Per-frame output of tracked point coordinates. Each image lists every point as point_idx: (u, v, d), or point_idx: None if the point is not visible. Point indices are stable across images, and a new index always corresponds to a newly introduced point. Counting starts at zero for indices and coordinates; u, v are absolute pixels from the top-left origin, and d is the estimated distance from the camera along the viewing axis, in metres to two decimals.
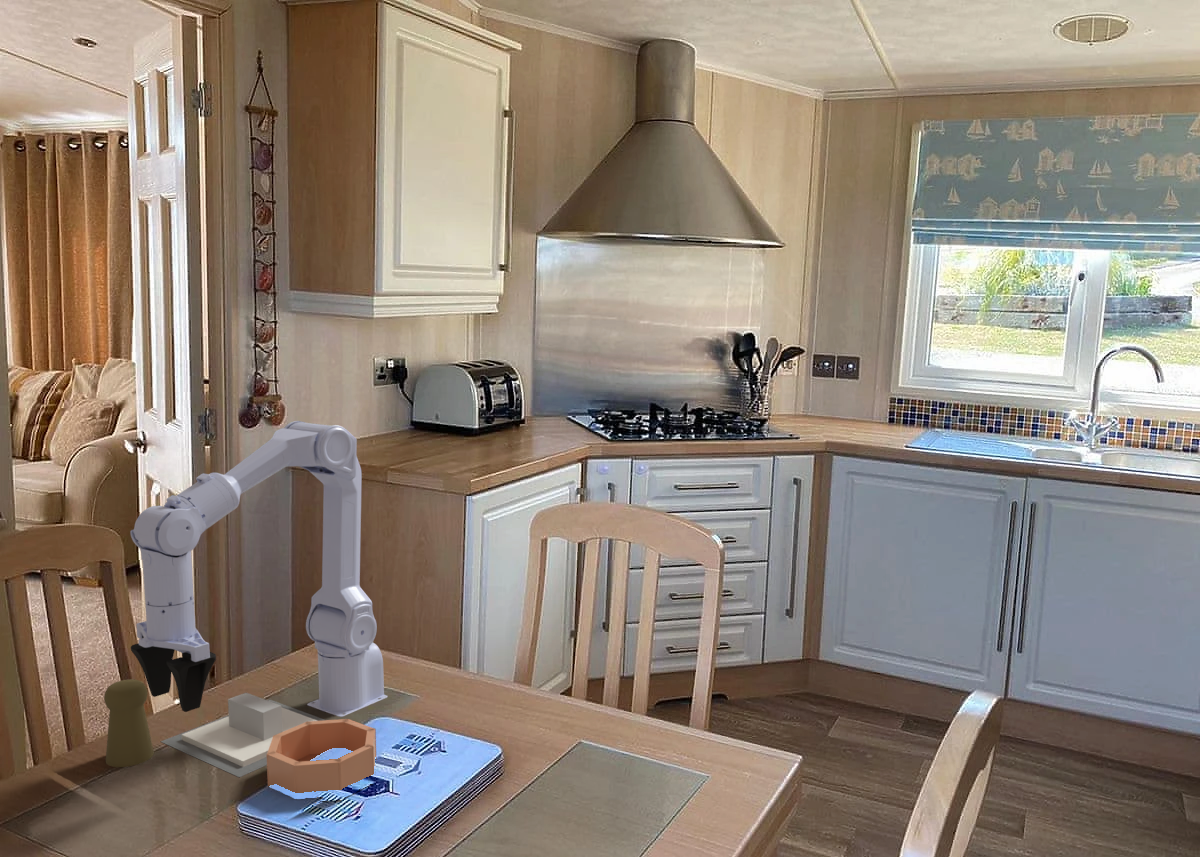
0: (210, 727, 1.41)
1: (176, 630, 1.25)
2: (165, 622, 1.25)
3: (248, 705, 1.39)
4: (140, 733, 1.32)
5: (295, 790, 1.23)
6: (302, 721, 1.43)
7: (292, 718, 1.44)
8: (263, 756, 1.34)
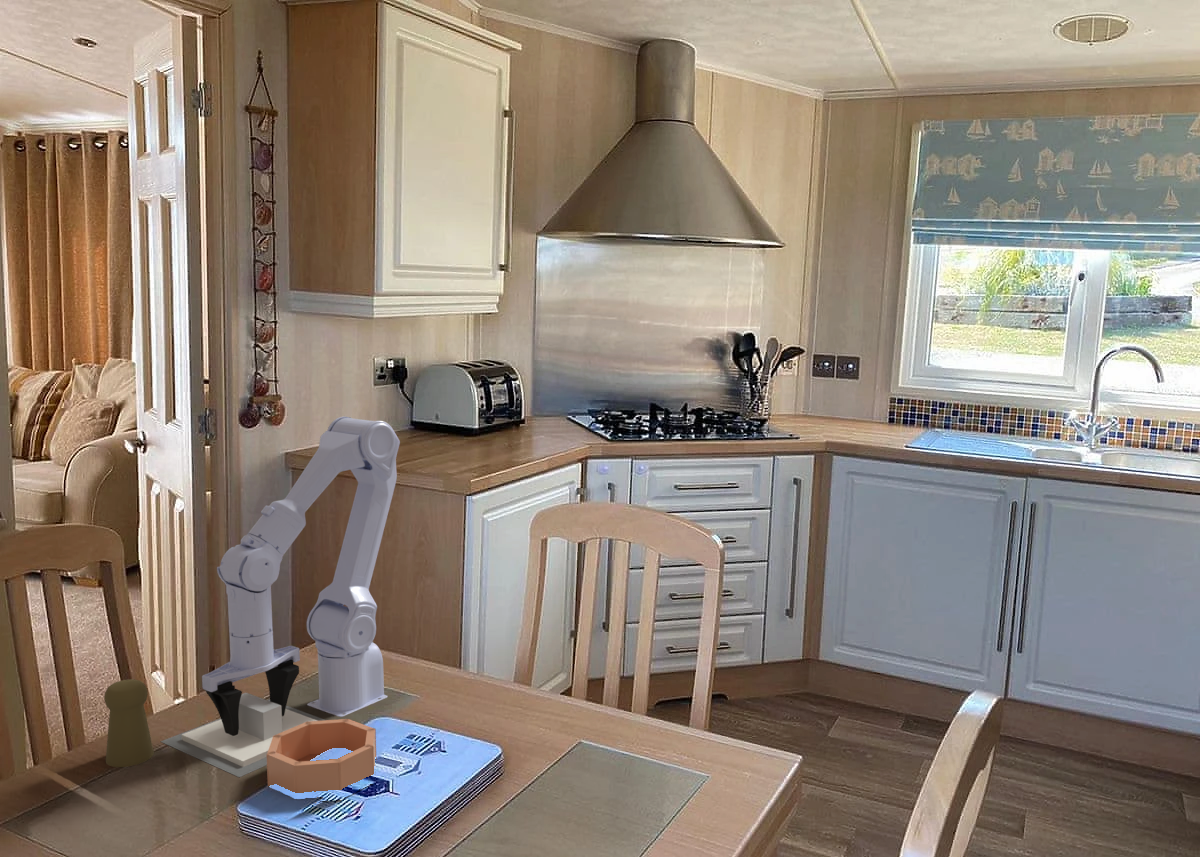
0: (210, 727, 1.41)
1: (231, 658, 1.37)
2: None
3: (248, 705, 1.39)
4: (140, 733, 1.32)
5: (295, 790, 1.23)
6: (302, 721, 1.43)
7: (292, 718, 1.44)
8: (263, 756, 1.34)
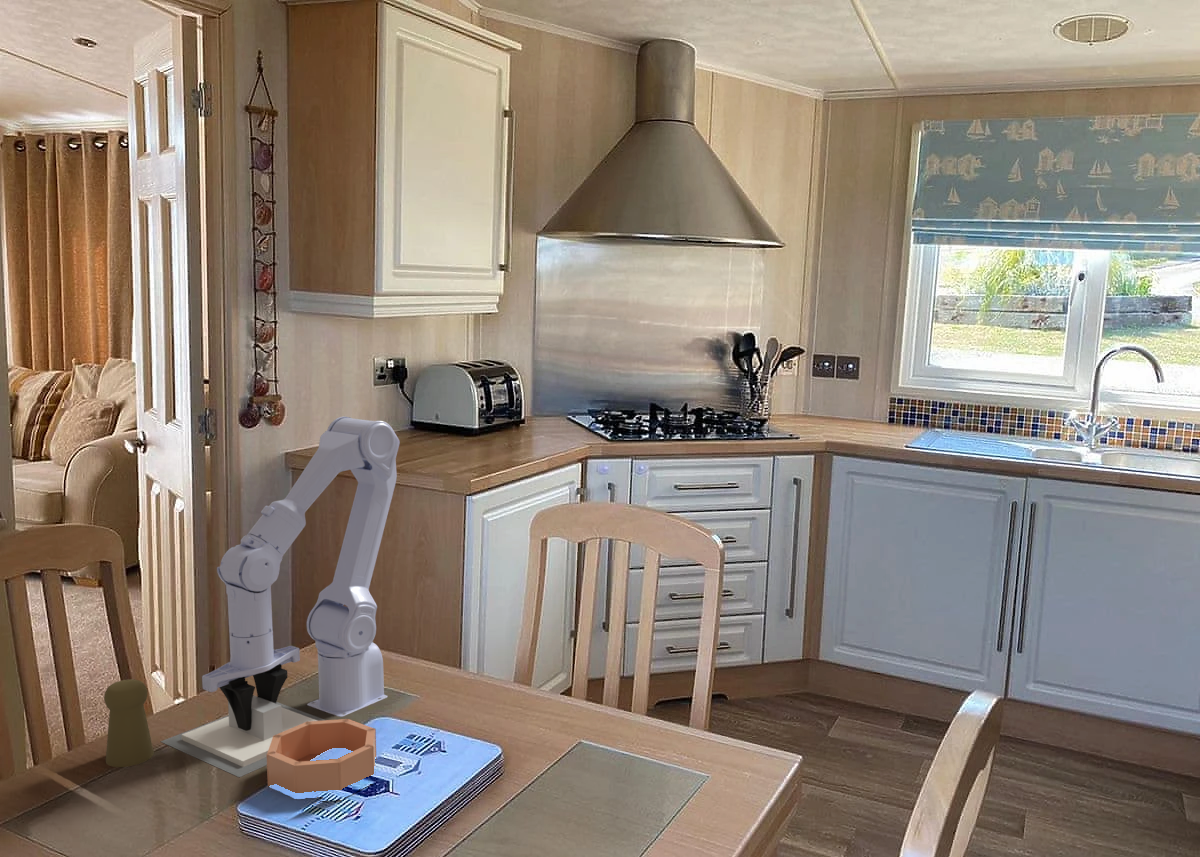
0: (210, 727, 1.41)
1: (231, 658, 1.37)
2: None
3: None
4: (140, 733, 1.32)
5: (295, 790, 1.23)
6: (302, 721, 1.43)
7: (292, 718, 1.44)
8: (263, 756, 1.34)
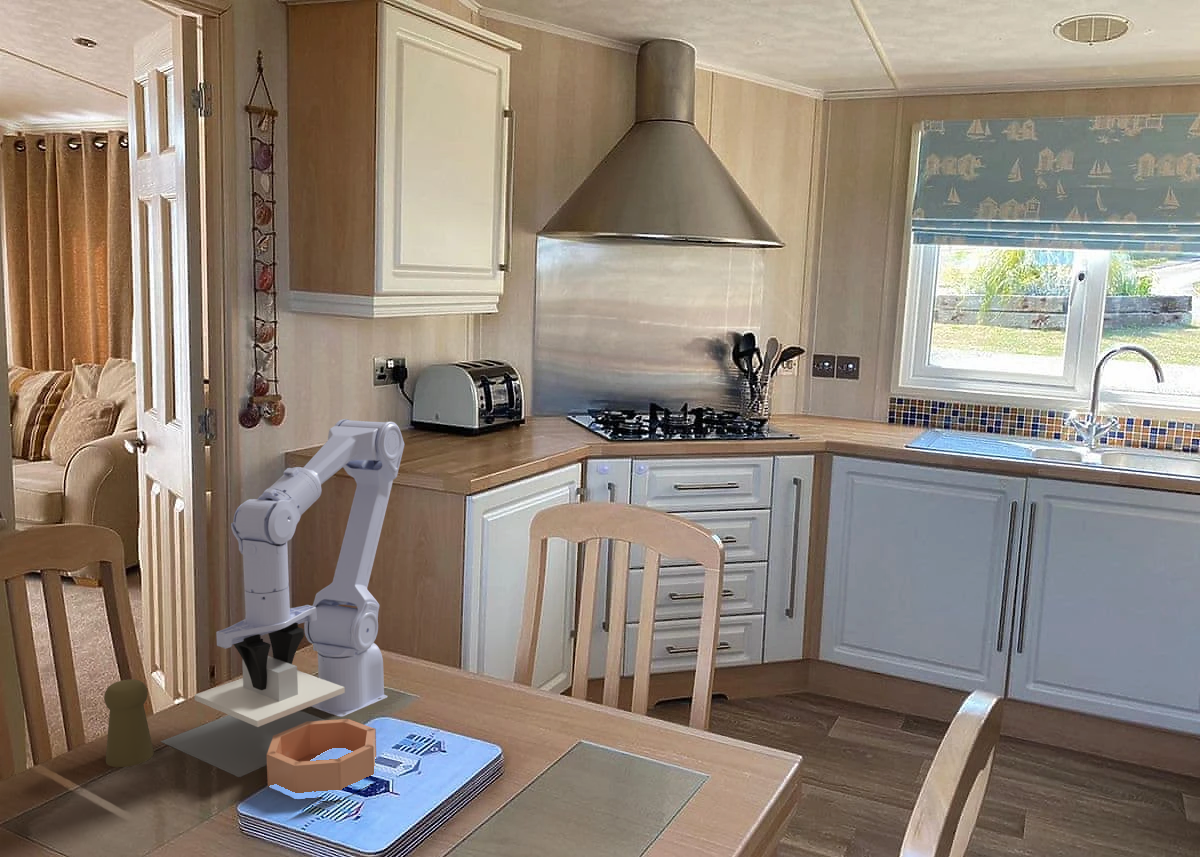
0: (224, 688, 1.37)
1: (246, 615, 1.33)
2: None
3: None
4: (140, 733, 1.32)
5: (295, 790, 1.23)
6: (318, 684, 1.39)
7: (308, 680, 1.40)
8: (278, 717, 1.29)
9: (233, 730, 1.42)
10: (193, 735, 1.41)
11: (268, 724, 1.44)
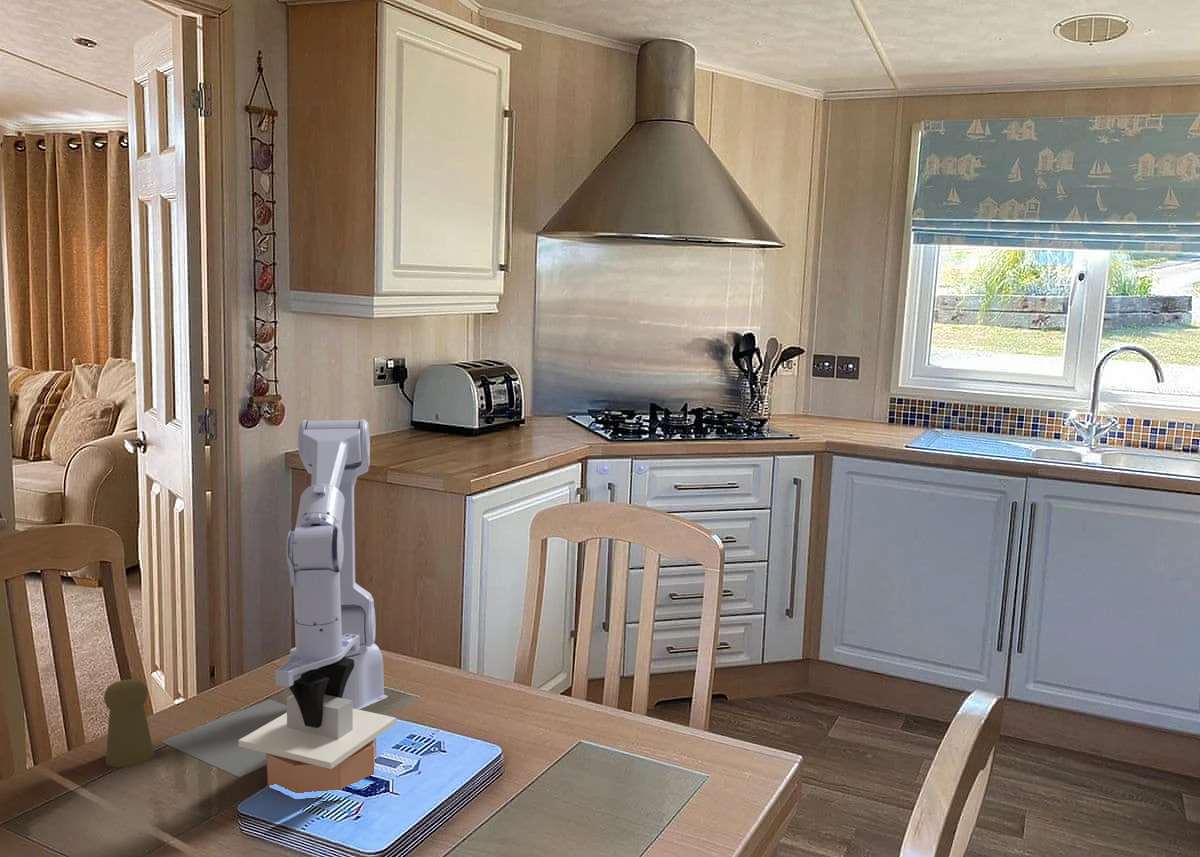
0: (266, 730, 1.28)
1: (300, 649, 1.25)
2: (295, 637, 1.26)
3: None
4: (140, 733, 1.32)
5: (295, 790, 1.23)
6: (366, 717, 1.33)
7: None
8: (346, 756, 1.23)
9: (233, 730, 1.42)
10: (193, 735, 1.41)
11: None
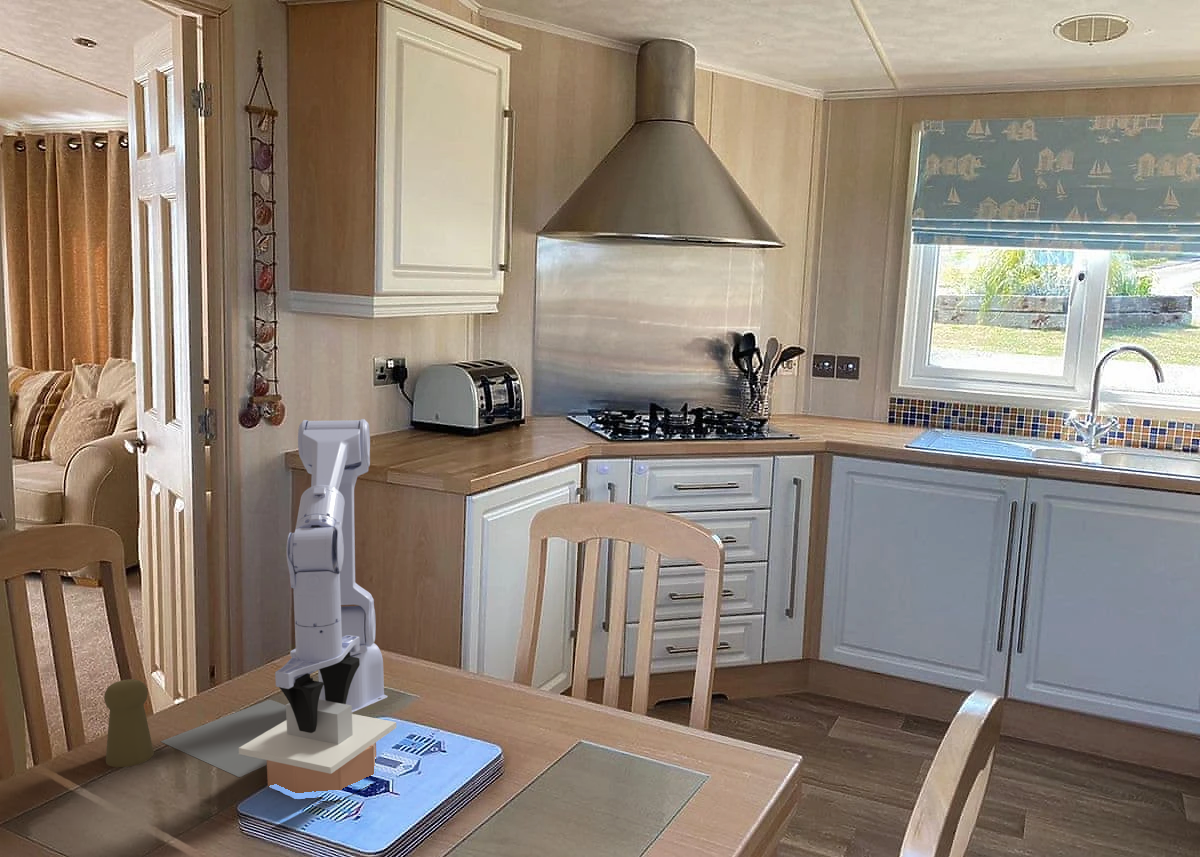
0: (267, 737, 1.28)
1: (300, 651, 1.25)
2: (295, 639, 1.26)
3: None
4: (140, 733, 1.32)
5: (295, 790, 1.23)
6: (366, 722, 1.33)
7: (352, 719, 1.34)
8: (346, 760, 1.23)
9: (233, 730, 1.42)
10: (193, 735, 1.41)
11: (268, 724, 1.44)
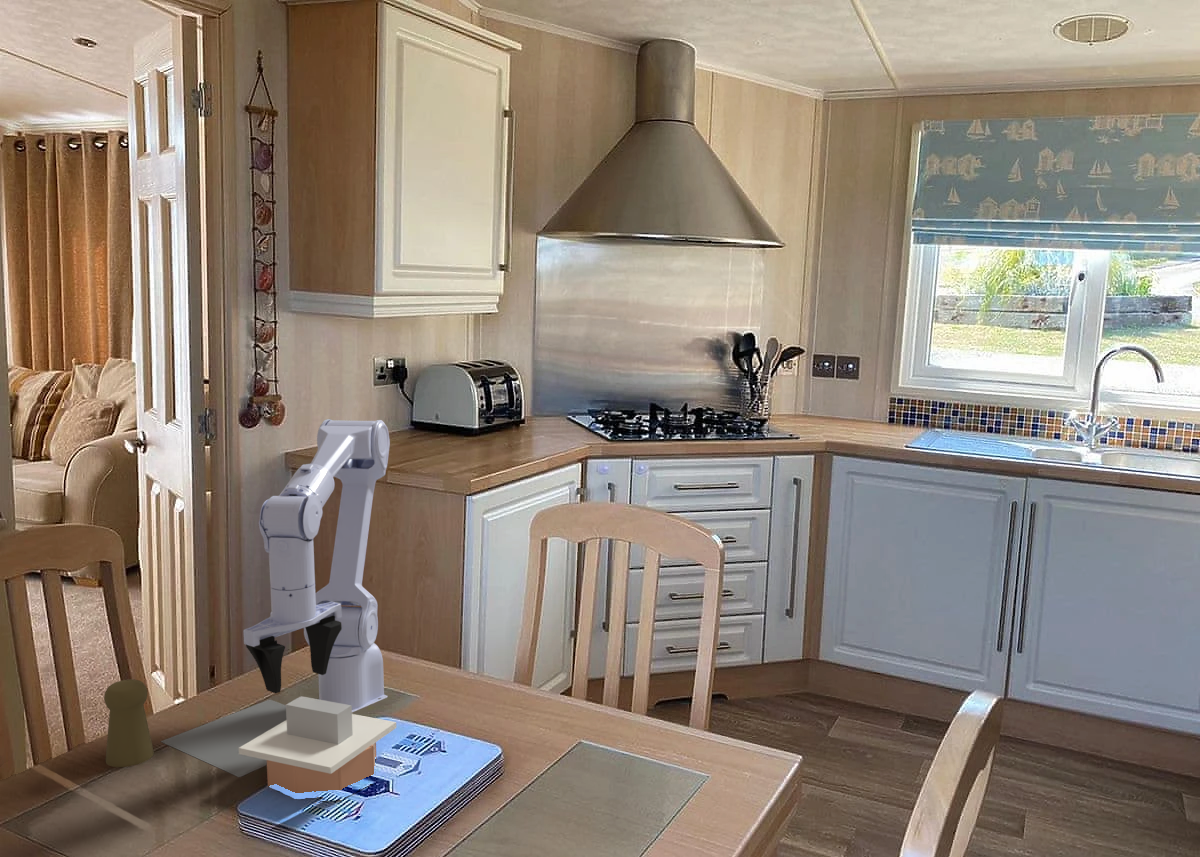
0: (267, 737, 1.28)
1: (273, 612, 1.32)
2: (271, 601, 1.33)
3: (314, 708, 1.27)
4: (140, 733, 1.32)
5: (295, 790, 1.23)
6: (366, 722, 1.33)
7: (352, 719, 1.34)
8: (346, 760, 1.23)
9: (233, 730, 1.42)
10: (193, 735, 1.41)
11: (268, 724, 1.44)
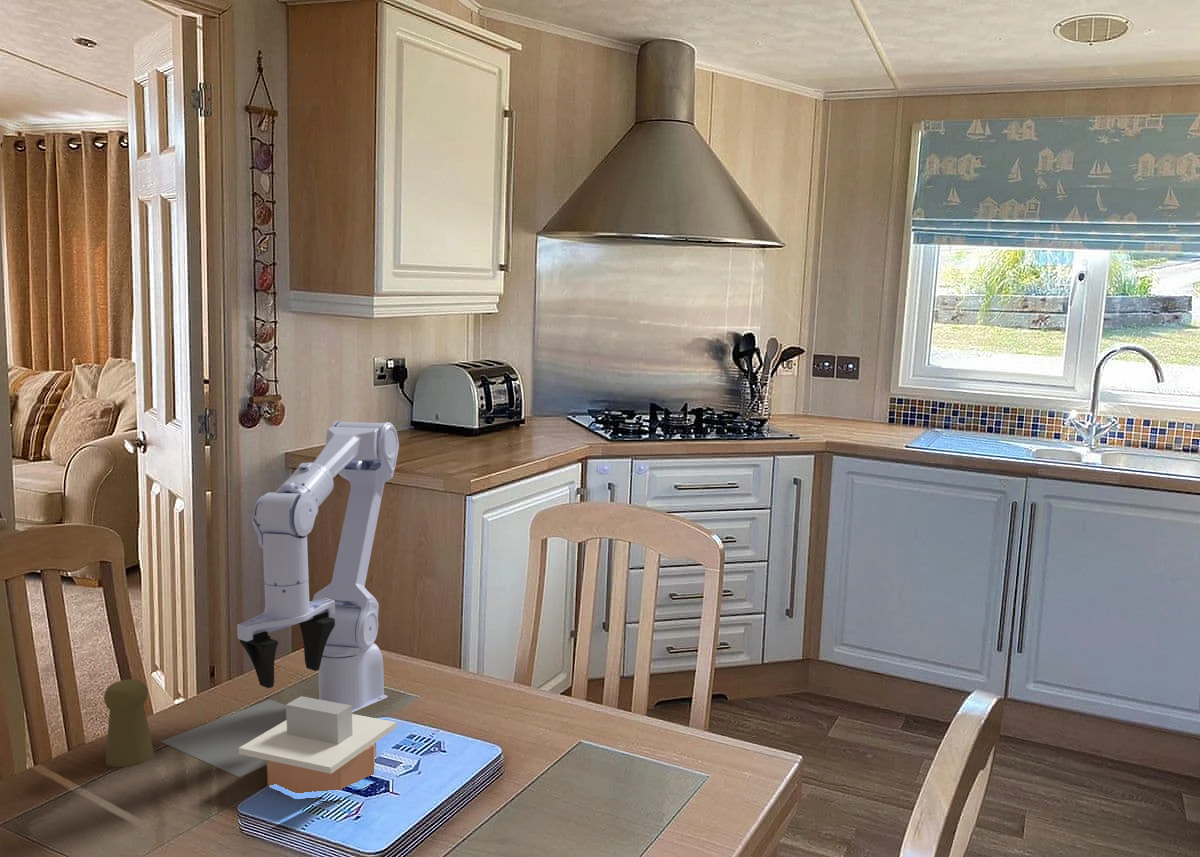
0: (267, 737, 1.28)
1: (266, 608, 1.33)
2: None
3: (314, 708, 1.27)
4: (140, 733, 1.32)
5: (295, 790, 1.23)
6: (366, 722, 1.33)
7: (352, 719, 1.34)
8: (346, 760, 1.23)
9: (233, 730, 1.42)
10: (193, 735, 1.41)
11: (268, 724, 1.44)
